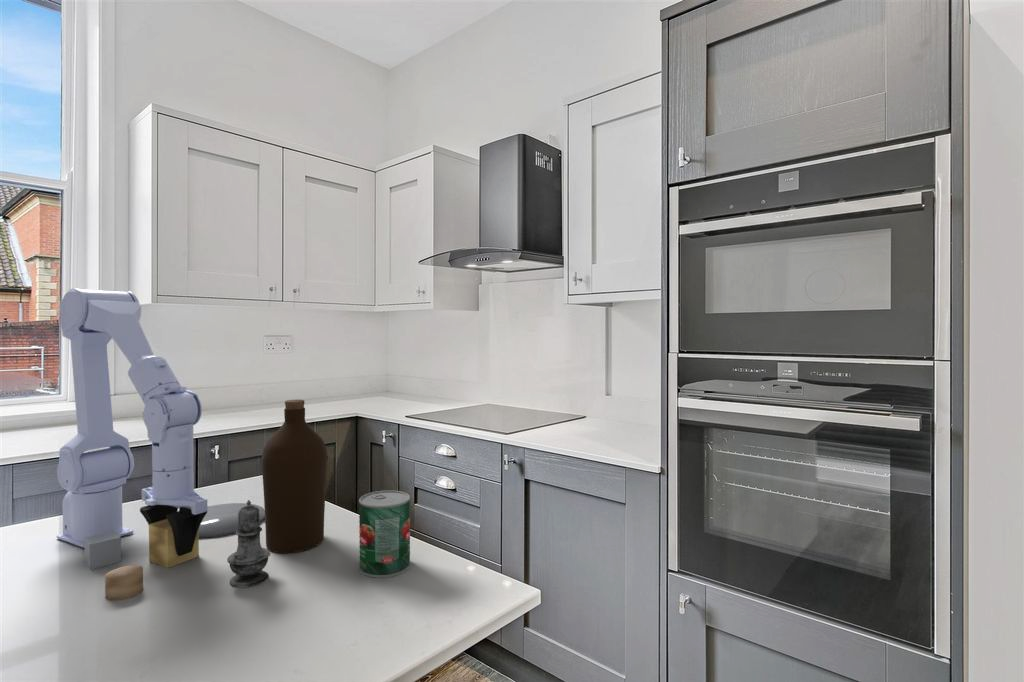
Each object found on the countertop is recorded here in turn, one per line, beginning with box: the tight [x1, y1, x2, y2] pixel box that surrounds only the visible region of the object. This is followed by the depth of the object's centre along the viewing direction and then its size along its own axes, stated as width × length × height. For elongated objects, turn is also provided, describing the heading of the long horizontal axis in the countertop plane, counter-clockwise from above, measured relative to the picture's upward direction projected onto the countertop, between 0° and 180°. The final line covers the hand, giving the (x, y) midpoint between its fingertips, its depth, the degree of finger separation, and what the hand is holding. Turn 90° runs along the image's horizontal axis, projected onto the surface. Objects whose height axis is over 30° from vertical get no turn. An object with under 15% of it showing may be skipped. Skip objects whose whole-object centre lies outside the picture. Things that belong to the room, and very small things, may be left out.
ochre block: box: [148, 519, 200, 569], centre depth 89 cm, size 5×5×6 cm
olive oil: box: [261, 399, 328, 554], centre depth 95 cm, size 11×11×25 cm
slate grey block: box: [83, 531, 122, 570], centre depth 88 cm, size 4×4×4 cm
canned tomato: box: [358, 489, 411, 579], centre depth 86 cm, size 8×8×11 cm
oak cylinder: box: [104, 564, 144, 601], centre depth 78 cm, size 4×4×3 cm
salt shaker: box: [226, 499, 271, 589], centre depth 82 cm, size 6×6×12 cm
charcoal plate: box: [199, 502, 265, 539], centre depth 105 cm, size 16×16×1 cm
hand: (174, 550), depth 89 cm, fingers closed on ochre block, 5 cm apart
